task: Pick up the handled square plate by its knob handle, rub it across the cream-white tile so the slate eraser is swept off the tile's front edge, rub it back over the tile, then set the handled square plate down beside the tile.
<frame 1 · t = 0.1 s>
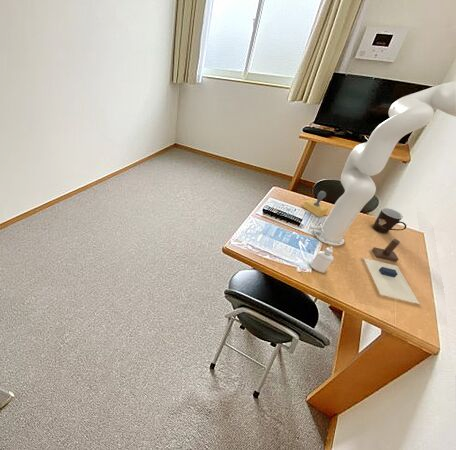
eye dropper bottle: (317, 268, 110), on the table
coffee mug: (381, 231, 135), on the table
handled square plate: (382, 257, 119), on the table
tile: (388, 280, 108), on the table
rubber stamp: (313, 211, 144), on the table
eraser: (386, 273, 109), point 1 cm above the table, touching tile
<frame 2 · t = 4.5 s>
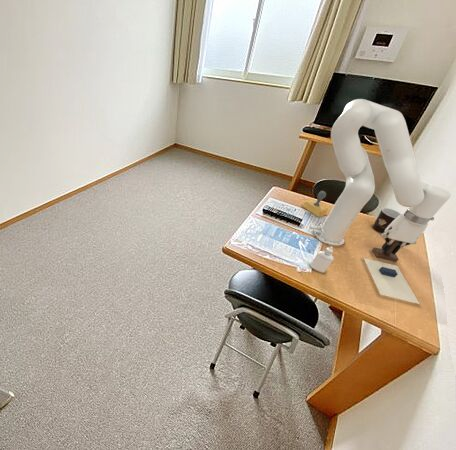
hand: (388, 250, 116), 4 cm above the table, tool pointing down, fingers closed on handled square plate, 2 cm apart
handled square plate: (382, 257, 119), on the table, touching gripper
everything else where it was.
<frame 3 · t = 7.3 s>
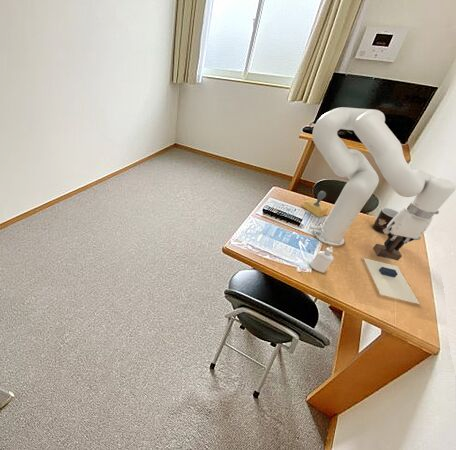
hand: (390, 247, 111), 8 cm above the table, tool pointing down, fingers closed on handled square plate, 2 cm apart
handled square plate: (385, 254, 114), point 5 cm above the table, touching gripper
everything else where it was.
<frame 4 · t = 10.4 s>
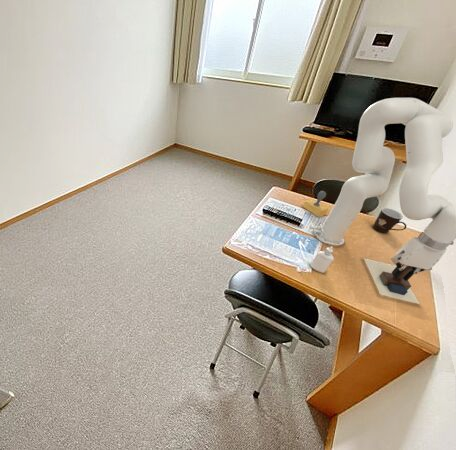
hand: (399, 276, 103), 5 cm above the table, tool pointing down, fingers closed on handled square plate, 2 cm apart
handled square plate: (392, 283, 105), point 1 cm above the table, touching eraser, gripper
eraser: (395, 290, 103), point 1 cm above the table, touching handled square plate, tile
everything else where it was.
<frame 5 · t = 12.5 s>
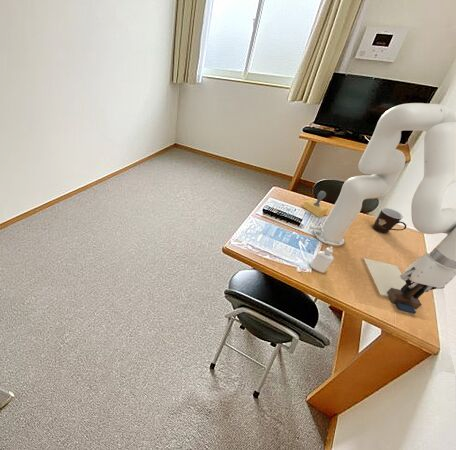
hand: (408, 294, 96), 5 cm above the table, tool pointing down, fingers closed on handled square plate, 2 cm apart
handled square plate: (401, 300, 99), point 1 cm above the table, touching eraser, gripper
eraser: (403, 310, 97), on the table, touching handled square plate
everything else where it was.
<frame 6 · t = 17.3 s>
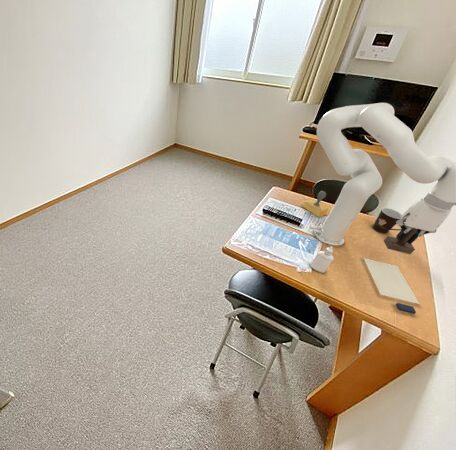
hand: (403, 240, 105), 15 cm above the table, tool pointing down, fingers closed on handled square plate, 2 cm apart
handled square plate: (396, 247, 107), point 11 cm above the table, touching gripper
eraser: (403, 310, 97), on the table
everything else where it was.
when the fingers open (4 cm above the table, at t = 21.3 s): handled square plate stays where it is, on the table.
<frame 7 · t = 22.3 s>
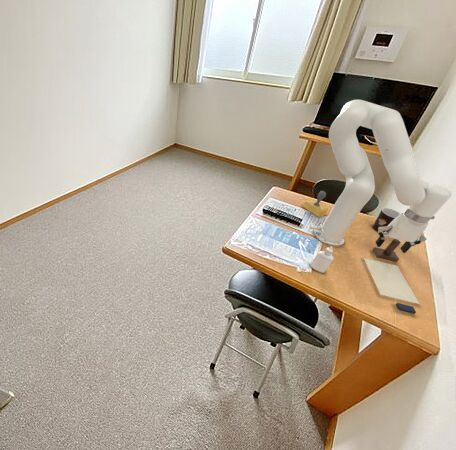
hand: (389, 247, 115), 6 cm above the table, tool pointing down, fingers open, 9 cm apart
handled square plate: (383, 257, 119), on the table
everything else where it was.
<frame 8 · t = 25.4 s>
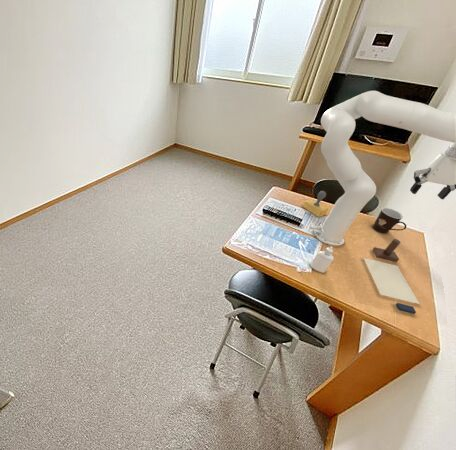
hand: (426, 194, 107), 28 cm above the table, tool pointing down, fingers open, 9 cm apart
nothing on the table moved.
at the end: eraser inside the target area on the table beside the tile (1.4 cm from its centre), on the table; handled square plate tilted 0°; handled square plate inside the target area (0.3 cm from its centre), on the table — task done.
